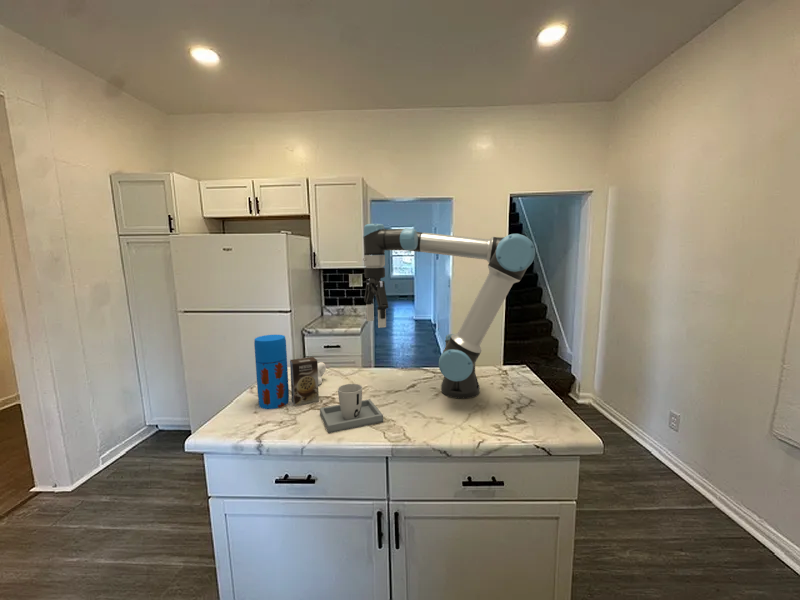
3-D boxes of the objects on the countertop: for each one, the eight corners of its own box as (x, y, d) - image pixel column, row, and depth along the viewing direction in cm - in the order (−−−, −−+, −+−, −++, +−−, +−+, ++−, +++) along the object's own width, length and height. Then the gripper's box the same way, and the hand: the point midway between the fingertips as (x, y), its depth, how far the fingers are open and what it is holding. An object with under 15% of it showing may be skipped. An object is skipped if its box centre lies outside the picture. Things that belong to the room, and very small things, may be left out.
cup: (358, 423, 114) (357, 393, 113) (335, 421, 116) (334, 391, 114) (366, 412, 122) (365, 384, 121) (344, 410, 124) (343, 383, 122)
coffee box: (294, 407, 129) (292, 364, 126) (291, 400, 134) (289, 359, 132) (319, 401, 133) (317, 360, 131) (315, 395, 138) (313, 355, 136)
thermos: (294, 402, 132) (291, 337, 129) (267, 412, 124) (262, 342, 121) (280, 395, 140) (276, 333, 136) (253, 403, 132) (248, 338, 129)
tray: (370, 405, 129) (369, 399, 128) (383, 422, 116) (383, 414, 116) (320, 414, 122) (319, 408, 122) (328, 433, 109) (328, 425, 109)
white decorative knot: (291, 387, 148) (290, 366, 147) (305, 377, 160) (304, 358, 159) (316, 389, 146) (315, 367, 145) (328, 378, 157) (328, 359, 156)
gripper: (355, 266, 140) (357, 319, 142) (376, 268, 117) (377, 331, 120) (373, 265, 143) (374, 317, 145) (397, 267, 120) (397, 329, 122)
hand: (375, 324), depth 132 cm, fingers open, 13 cm apart
